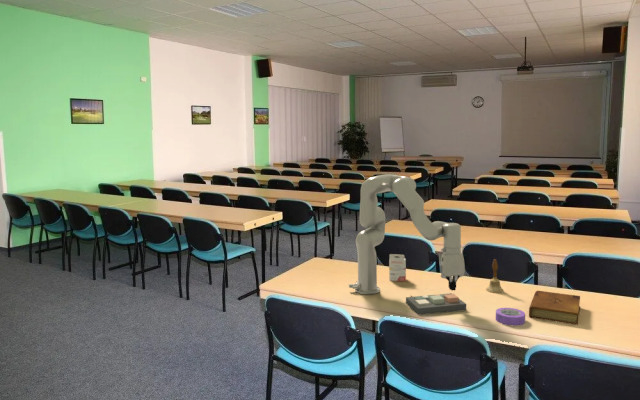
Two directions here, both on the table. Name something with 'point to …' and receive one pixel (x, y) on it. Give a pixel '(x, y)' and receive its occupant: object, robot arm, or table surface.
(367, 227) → the robot arm
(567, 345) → the table surface
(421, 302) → the key cream
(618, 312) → the table surface
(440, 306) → the keypad
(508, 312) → the masking tape
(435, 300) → the key sage
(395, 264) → the ink cartridge box
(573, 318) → the diary
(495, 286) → the hand bell
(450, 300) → the key terracotta
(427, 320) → the table surface
